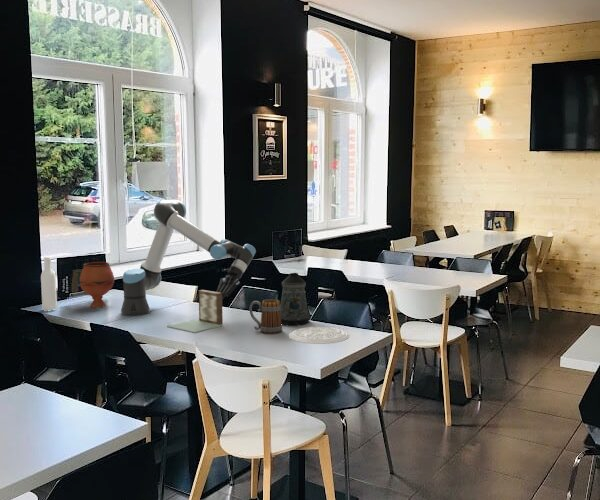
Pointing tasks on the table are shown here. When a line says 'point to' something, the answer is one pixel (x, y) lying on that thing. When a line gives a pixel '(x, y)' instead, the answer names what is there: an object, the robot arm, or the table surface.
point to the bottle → (48, 286)
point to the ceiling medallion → (318, 335)
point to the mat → (194, 326)
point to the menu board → (210, 307)
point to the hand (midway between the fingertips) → (214, 305)
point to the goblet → (96, 281)
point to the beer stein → (294, 301)
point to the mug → (268, 316)
